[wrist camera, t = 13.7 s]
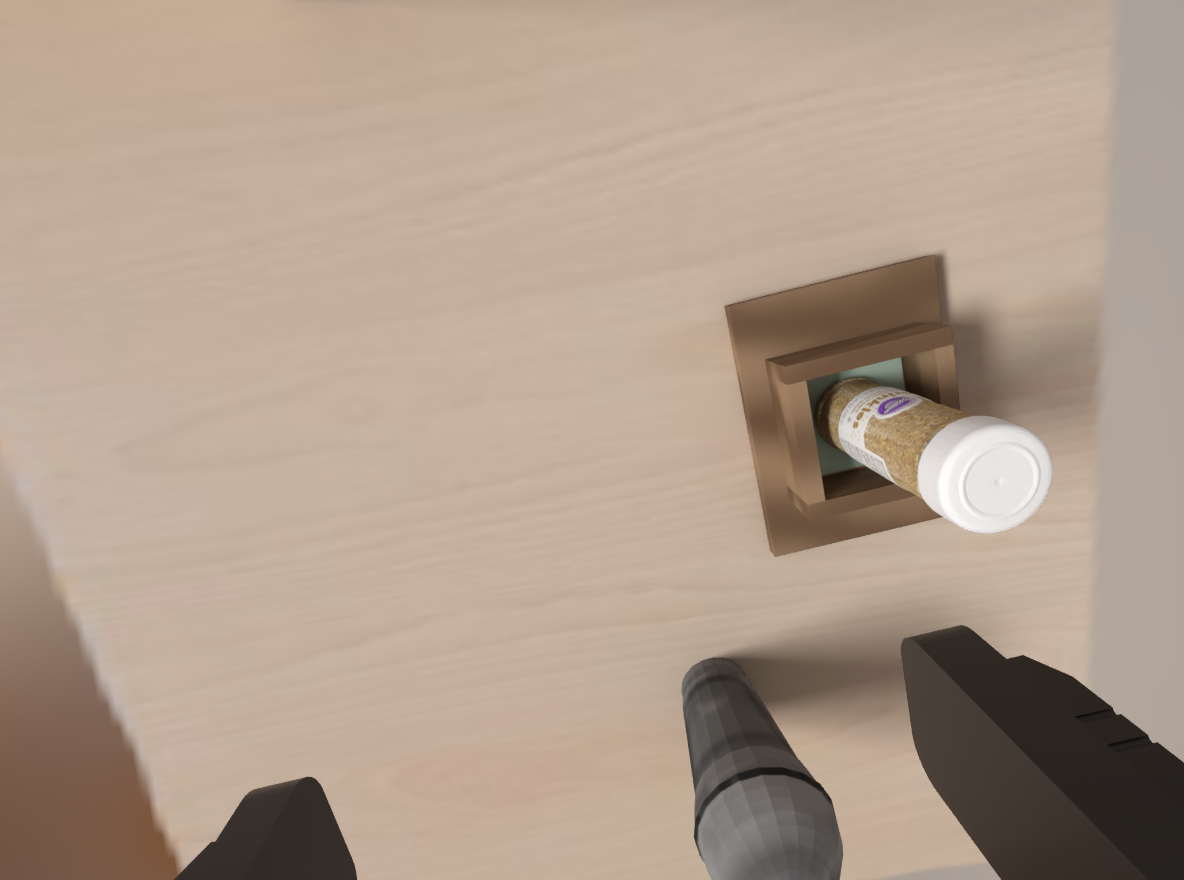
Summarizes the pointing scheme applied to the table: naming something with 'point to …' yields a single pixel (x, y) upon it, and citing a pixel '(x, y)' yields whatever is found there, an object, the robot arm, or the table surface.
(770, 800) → the beverage cup
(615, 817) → the table surface
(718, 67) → the table surface
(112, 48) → the table surface
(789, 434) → the wooden square holder
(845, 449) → the sprinkles bottle
